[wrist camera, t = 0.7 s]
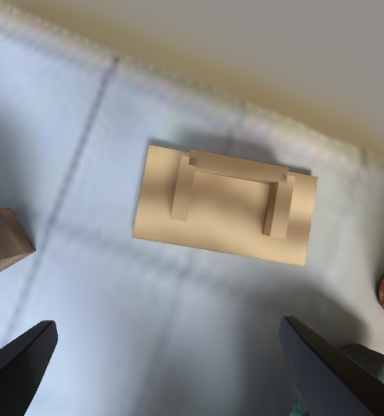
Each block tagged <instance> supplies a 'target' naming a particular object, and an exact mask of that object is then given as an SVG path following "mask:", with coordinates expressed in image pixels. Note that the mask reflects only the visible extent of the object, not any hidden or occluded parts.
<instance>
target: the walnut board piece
mask: <svg viewBox="0 0 384 416" xmlns="http://www.w3.org/2000/svg"><path fill="white" fill-rule="evenodd" d="M35 251H36V250H35V249H34V247H33V245H32V244H31V242H30V240H29V239H28V237H27V236H26V234H25V232H24V231H23V229H22V227H21V226H20V224H19V222H18V221H17V219H16V217H15V216H14V214H13V212H12V211H11V209H3V208H0V272H1V271H2V270H4V269H6V268H8V267H9V266H11V265H13V264H14V263H16V262H18V261H20V260H21V259H23V258H25V257H26V256H28V255H30V254H32V253H33V252H35Z"/></svg>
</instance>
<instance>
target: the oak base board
mask: <svg viewBox="0 0 384 416" xmlns="http://www.w3.org/2000/svg"><path fill="white" fill-rule="evenodd" d="M288 169H289V168H288V167H282V166H277V165H272V164H267V163H262V162H256V161H251V160H246V159H241V158H236V157H230V156H225V155H220V154H215V153H209V152H204V151H199V150H194V149H191V152H184V151H179V150H174V149H169V148H164V147H158V146H153V145H149V149H148V154H147V159H146V165H145V170H144V175H143V181H142V186H141V192H140V197H139V202H138V208H137V213H136V218H135V224H134V229H133V235H132V237H133V238H139V239H145V240H151V241H157V242H163V243H169V244H175V245H181V246H187V247H193V248H199V249H205V250H211V251H217V252H223V253H229V254H235V255H241V256H247V257H253V258H259V259H265V260H271V261H277V262H283V263H289V264H294V265H300V266H305V260H306V253H307V246H308V240H309V233H310V226H311V220H312V213H313V206H314V200H315V193H316V186H317V180H318V177H315V176H310V175H305V174H300V173H294V172H289V171H288Z"/></svg>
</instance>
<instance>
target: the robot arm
mask: <svg viewBox="0 0 384 416" xmlns="http://www.w3.org/2000/svg"><path fill="white" fill-rule="evenodd" d="M279 336H280V340H281V342H282V345H283V348H284V351H285V354H286V357H287V360H288V363H289V366H290V369H291V372H292V374H293V377H294V380H295V382H296V385H297V387H298V389H299V391H300V394H301V396H302V398H303V400H304V403H305V405H306V407H307V409H308V412H309V414H310V416H384V383H383V382H381V381H380V380H379V379H377V378H376V377H375V376H373V375H372V374H371V373H369V372H368V371H367V370H365V369H364V368H363V367H361V366H360V365H359V364H357V363H356V362H355V361H353V360H352V359H350V358H349V357H348V356H346V355H345V354H344V353H342V352H341V351H340V350H338V349H337V348H336V347H334V346H333V345H332V344H330V343H329V342H328V341H326V340H325V339H324V338H322V337H321V336H320V335H318V334H317V333H315V332H314V331H313V330H311V329H310V328H309V327H307V326H306V325H305V324H303V323H302V322H301V321H299V320H298V319H297V318H295V317H294V316H283V317H282V319H281V324H280V330H279ZM57 342H58V334H57V328H56V323H55V321H53V320H44V321H41V322H40V323H38V324H37V325H35V326H34V327H32V328H31V329H29V330H28V331H26V332H25V333H23V334H22V335H20V336H19V337H17V338H16V339H14V340H13V341H11V342H10V343H8V344H7V345H6V346H4V347H3V348H1V349H0V416H24V415H25V413H26V411H27V409H28V407H29V405H30V403H31V401H32V399H33V397H34V395H35V393H36V391H37V389H38V387H39V385H40V383H41V380H42V378H43V376H44V373H45V371H46V369H47V366H48V364H49V361H50V359H51V357H52V354H53V352H54V350H55V347H56V345H57Z"/></svg>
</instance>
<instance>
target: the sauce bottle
mask: <svg viewBox="0 0 384 416" xmlns="http://www.w3.org/2000/svg"><path fill="white" fill-rule="evenodd" d="M378 298H379V300H380V305H381V306H382V308H383V309H384V278H383V280H382V282H381V284H380V288H379V297H378Z"/></svg>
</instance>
